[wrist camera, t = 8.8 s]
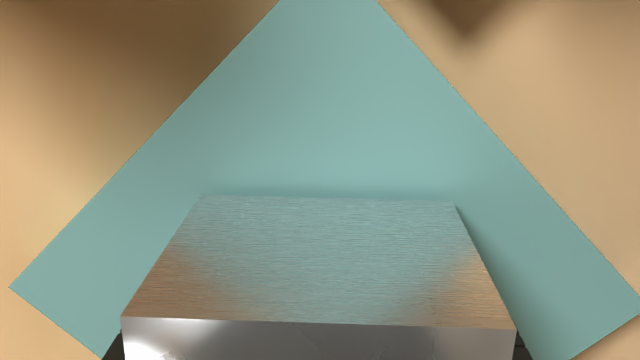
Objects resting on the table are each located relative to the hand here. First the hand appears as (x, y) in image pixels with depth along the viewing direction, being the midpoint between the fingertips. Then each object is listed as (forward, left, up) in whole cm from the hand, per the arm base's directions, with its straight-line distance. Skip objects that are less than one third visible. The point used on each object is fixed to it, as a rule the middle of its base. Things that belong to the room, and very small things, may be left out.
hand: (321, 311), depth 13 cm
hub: (0, 0, -2) cm, 2 cm away
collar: (0, 0, 0) cm, 0 cm away
